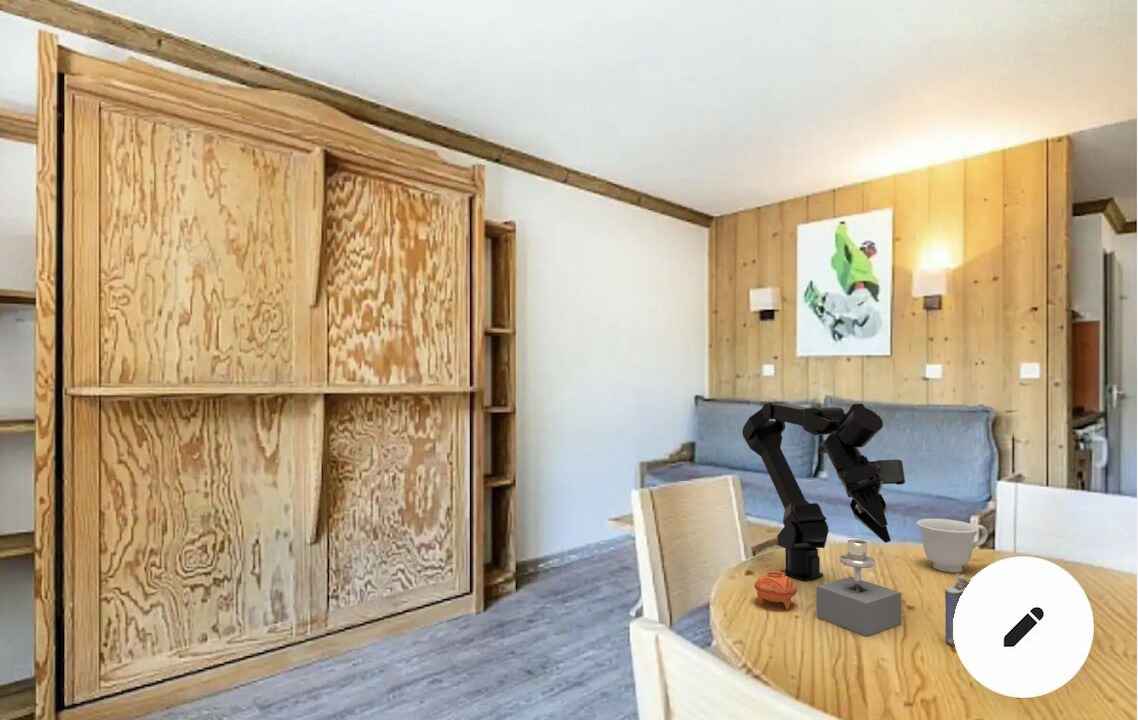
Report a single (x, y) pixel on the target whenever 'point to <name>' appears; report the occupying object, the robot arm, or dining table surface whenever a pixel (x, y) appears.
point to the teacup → (949, 542)
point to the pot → (775, 588)
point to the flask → (953, 605)
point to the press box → (858, 606)
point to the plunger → (857, 560)
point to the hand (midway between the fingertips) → (886, 533)
